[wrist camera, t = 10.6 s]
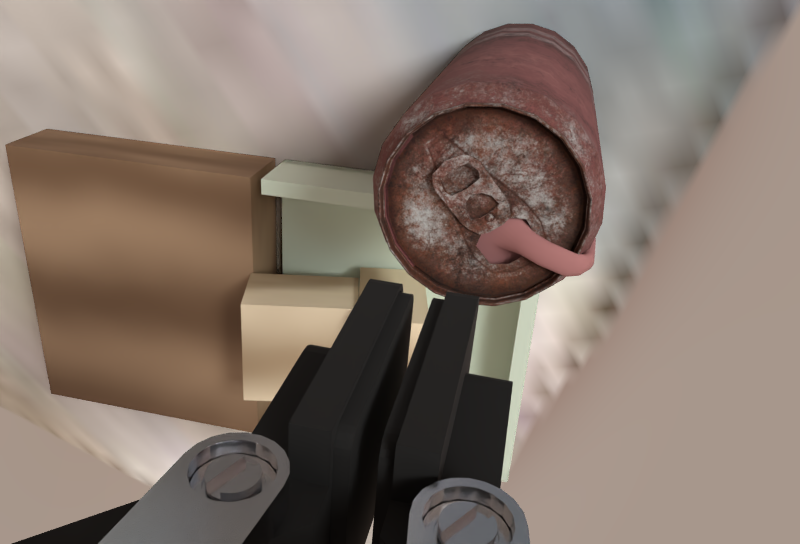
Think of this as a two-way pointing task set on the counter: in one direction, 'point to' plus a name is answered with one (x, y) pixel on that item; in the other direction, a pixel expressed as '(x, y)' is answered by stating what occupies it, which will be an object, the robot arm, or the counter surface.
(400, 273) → the tile
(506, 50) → the can
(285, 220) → the tray
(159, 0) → the counter surface
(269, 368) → the tile
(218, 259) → the board
